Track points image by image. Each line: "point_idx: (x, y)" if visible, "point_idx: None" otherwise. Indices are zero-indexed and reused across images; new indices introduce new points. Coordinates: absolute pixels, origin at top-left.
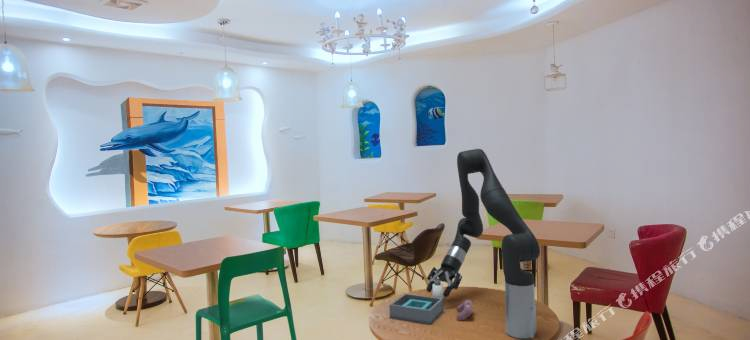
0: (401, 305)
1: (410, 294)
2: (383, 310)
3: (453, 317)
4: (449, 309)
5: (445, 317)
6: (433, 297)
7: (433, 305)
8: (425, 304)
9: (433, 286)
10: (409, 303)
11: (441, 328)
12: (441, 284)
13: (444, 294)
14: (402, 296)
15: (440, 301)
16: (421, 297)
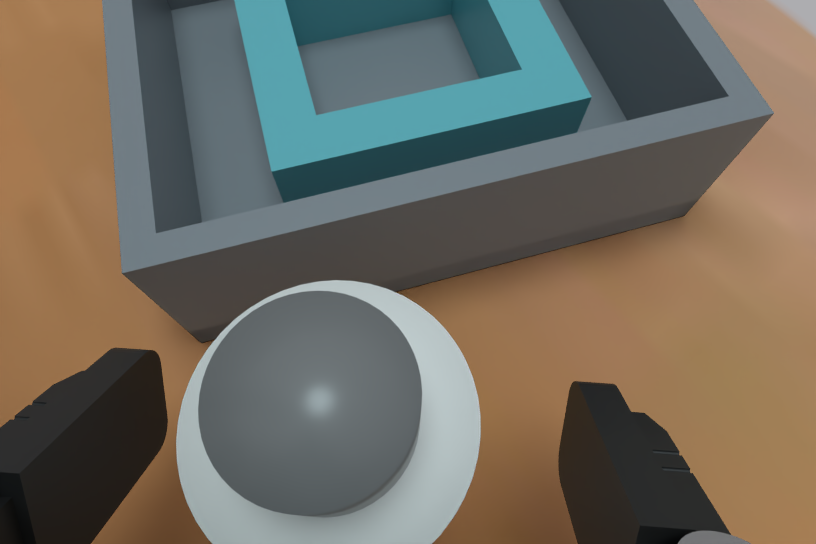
0: (614, 61)
1: (675, 125)
2: (720, 18)
3: (19, 265)
4: (166, 457)
5: (103, 216)
6: (292, 221)
7: (129, 4)
8: (298, 64)
9: (377, 294)
10: (486, 2)
11: (38, 20)
12: (239, 517)
13: (115, 348)
14: (680, 15)
15: (118, 169)
16: (481, 166)
